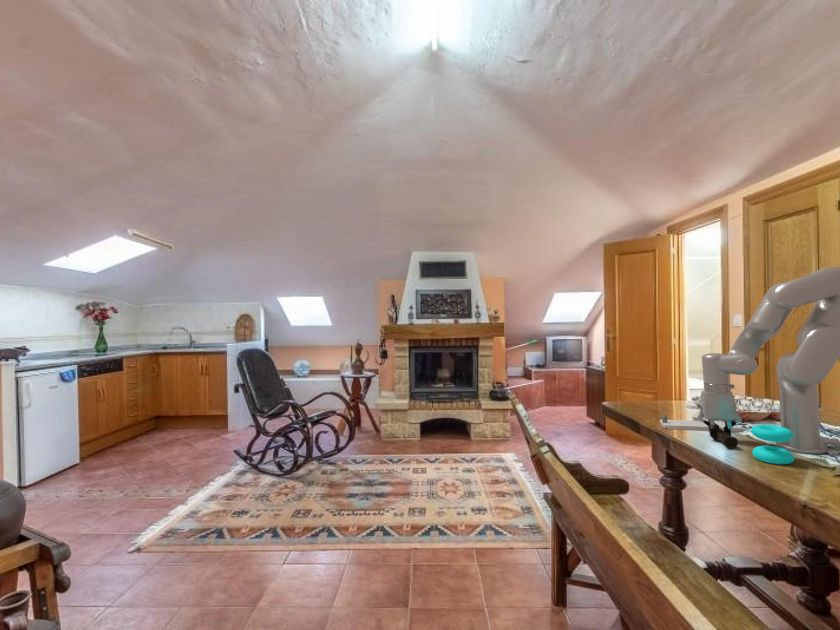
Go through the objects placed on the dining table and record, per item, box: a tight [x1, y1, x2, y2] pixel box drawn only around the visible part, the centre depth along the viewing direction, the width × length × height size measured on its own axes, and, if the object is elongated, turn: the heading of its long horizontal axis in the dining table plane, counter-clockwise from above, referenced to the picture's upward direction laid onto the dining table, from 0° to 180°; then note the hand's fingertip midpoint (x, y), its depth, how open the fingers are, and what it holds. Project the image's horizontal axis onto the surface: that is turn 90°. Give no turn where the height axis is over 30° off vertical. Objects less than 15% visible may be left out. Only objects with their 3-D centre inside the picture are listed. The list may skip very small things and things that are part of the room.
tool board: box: [659, 414, 743, 433], centre depth 164 cm, size 26×9×4 cm, turn 71°
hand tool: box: [714, 423, 739, 449], centre depth 147 cm, size 19×4×5 cm, turn 161°
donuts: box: [750, 424, 795, 465], centre depth 128 cm, size 10×10×10 cm
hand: (720, 438), depth 147 cm, fingers closed on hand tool, 3 cm apart
